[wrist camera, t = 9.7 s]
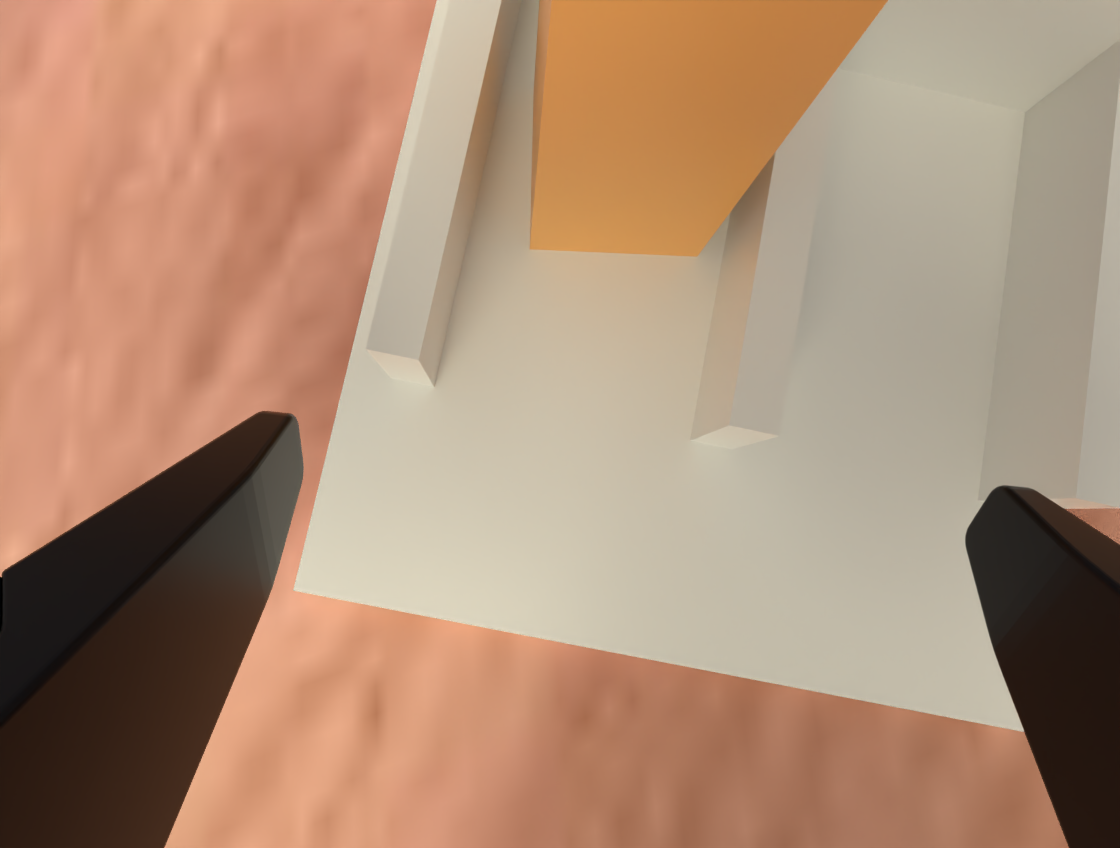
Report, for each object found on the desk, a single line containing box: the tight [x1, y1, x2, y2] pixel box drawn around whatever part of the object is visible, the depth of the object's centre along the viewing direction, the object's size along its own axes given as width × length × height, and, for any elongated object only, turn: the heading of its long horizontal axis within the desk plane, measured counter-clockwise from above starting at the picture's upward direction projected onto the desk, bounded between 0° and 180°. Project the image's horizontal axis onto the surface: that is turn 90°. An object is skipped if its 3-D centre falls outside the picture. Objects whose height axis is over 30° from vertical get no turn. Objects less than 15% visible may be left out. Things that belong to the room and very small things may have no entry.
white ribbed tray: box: [293, 0, 1120, 732], centre depth 16 cm, size 18×17×5 cm
